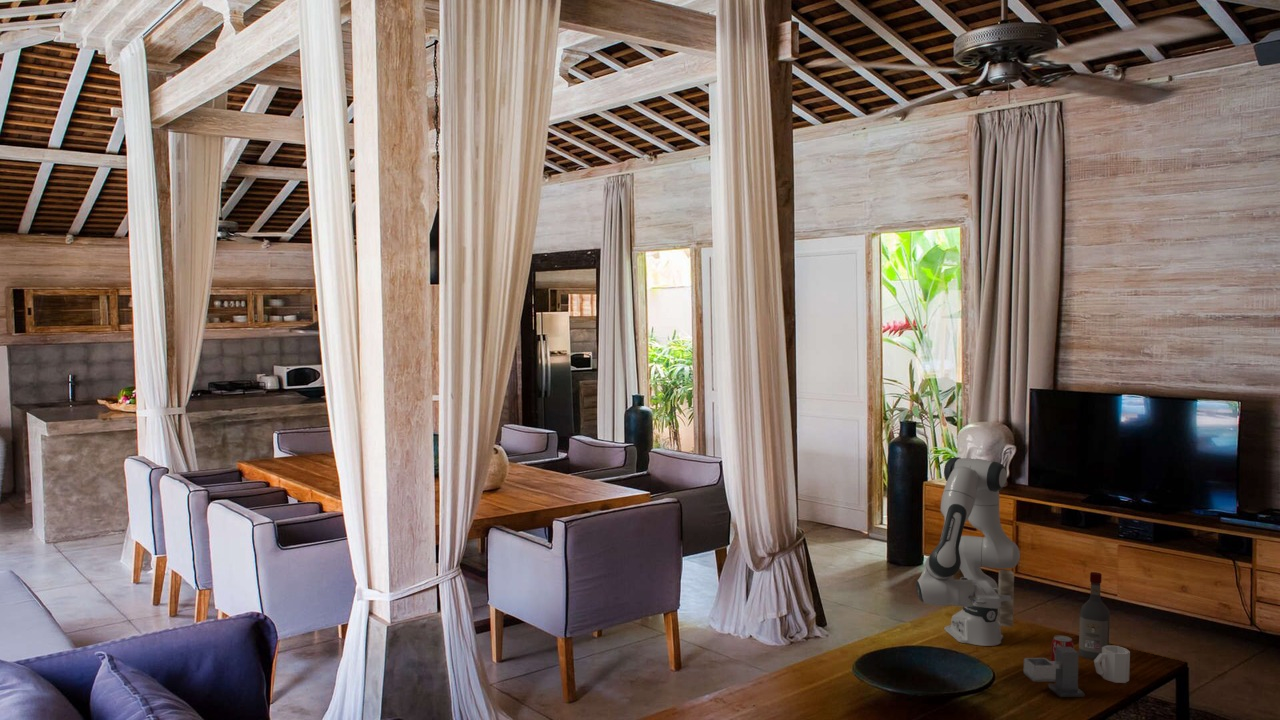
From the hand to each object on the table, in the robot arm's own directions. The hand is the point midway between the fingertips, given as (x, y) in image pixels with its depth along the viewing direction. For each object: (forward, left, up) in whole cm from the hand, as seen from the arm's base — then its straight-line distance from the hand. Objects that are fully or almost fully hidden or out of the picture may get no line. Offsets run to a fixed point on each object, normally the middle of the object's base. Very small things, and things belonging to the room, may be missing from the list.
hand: (1008, 595), depth 319 cm
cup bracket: (+16, +6, -28) cm, 32 cm away
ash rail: (0, -1, -10) cm, 10 cm away
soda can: (+3, +20, -28) cm, 35 cm away
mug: (+12, +32, -28) cm, 44 cm away
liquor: (-7, +42, -28) cm, 51 cm away
